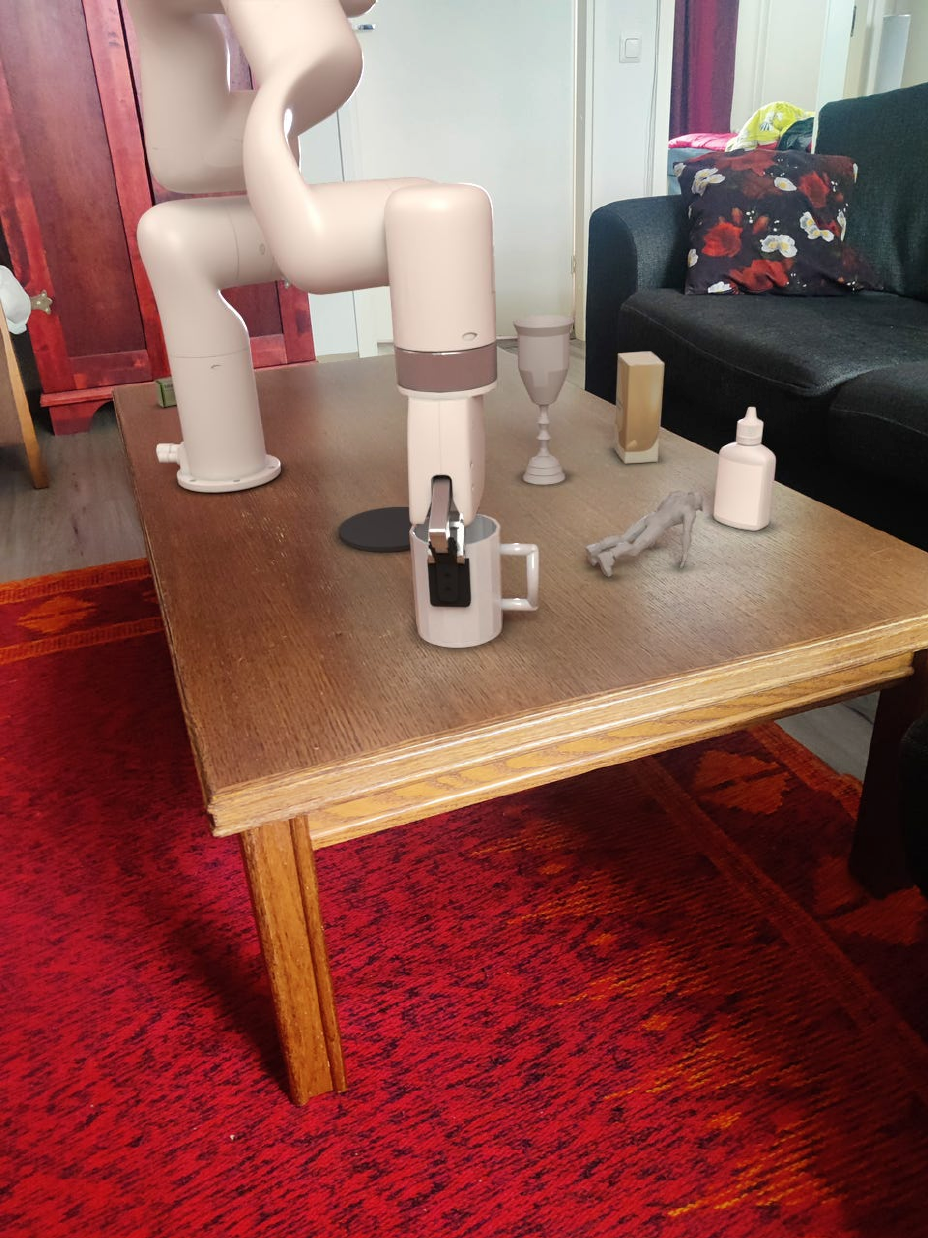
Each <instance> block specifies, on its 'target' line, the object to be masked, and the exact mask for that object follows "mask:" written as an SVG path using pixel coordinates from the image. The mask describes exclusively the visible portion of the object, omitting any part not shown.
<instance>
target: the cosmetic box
mask: <svg viewBox="0 0 928 1238" xmlns="http://www.w3.org/2000/svg"><path fill="white" fill-rule="evenodd" d="M616 369H617V372H616V393H615V417H614V420H615V421H614V438H613V439H614V440H613V449H614V451H615V453H616V454H617V455H618V457H619V459H620V460H621V461H622V462H623V464H625V465H626V464H642V463H657V462H659V452H660V438H661V436H660V435H661V422H662V409H663V393H664V378H665V377H664V376H665V362H664V361H662V360H661V358H659V357H658V356H657V354H655V353H654V352H652V351H634V352H622V353H621V352H620V353H617V368H616Z"/></svg>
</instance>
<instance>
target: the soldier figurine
mask: <svg viewBox="0 0 928 1238" xmlns="http://www.w3.org/2000/svg"><path fill="white" fill-rule="evenodd" d="M704 501H705V499H704V496H703V494H702V493H701V492H700V491H698V490H690V491H689V492H688V493H687V492H685V491H683V490H675V491H671V492H670V493H669V494H668V496H666V497H665V498H664V499H663V500H662V501H661V502H660V504H658V507H657V510H655V511H654V512H651V513H649V514H647V515H644V516H643V517H642V518H640V519H639V520H637V521H636V522H635V523H634V524H632V525H631V526H630V527H629V528H628V529H627V530H626V531H625V532H624V533H623V534H622V535H618V534H612V535H608V536H606V537H605V538H604V539H603V540H599V541H597V542H596V543H592V544H589V545H587V546H585V547H584V548H585V552H586V559H587V560H588V562H589V563H590V565H592V566H593V567H595V566H597V564H598V563H599V565H600V571H602V573H603V574H604V576H606V577H608V578H610V577H611V576H612V575H613V569H612V568H613V565H614V563H615V560H617V559H619V558H620V557H625V556H627V557H637V556H638V554H639V553H640V552H641V551H642V550H644V549H648V548H653V546H654V545H656V544H657V541H658V539H659V538H661V536H663V535H665V532H666V531H667V530H668V529H670V528H672V527H675V526H679V525H682V533H681V535H680V544H681V551H682V554H681V557H680V558H679V560H678V561H679V562H681V563H680V565H679V569H682V568H683V566H685V563H686V562H687V561H688V560H687V559H688V552H689V550H690V548H691V544H692V532H693V525H694V523H695V520H696V518H697V513H696V512H697V511H700V512H701V513H702V512H704ZM607 550H608V551H607Z"/></svg>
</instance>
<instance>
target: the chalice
mask: <svg viewBox="0 0 928 1238" xmlns="http://www.w3.org/2000/svg"><path fill="white" fill-rule="evenodd" d="M574 323H575V319H574V318H572V317H569V316H565V315H554V314H553V315H552V314H551V315H550V314H547V315H546V314H545V315H543V314H541V315H531V316H524V317H520V318H516V319H515V320H513V321H512V325H513V327H514V329H515V331H516V334H517V369H518V372H519V374H520V379H521V381H522V384H523V386H524V388H525V391H526V392H527V394H528V397H529V399H530V401H531V403H533V404H534V405H537V406H538V407H539V416H538V420H537V421H536V423H537V425H538V427H539V432H538V433H539V434H538V435H537V436H536V440H538V443H539V447H540V448H539V452H538V453H537V455H535V456H533V457H531V459H530V460H529V461H528V465H527V467H526V468H525V472H524V474H523V476H522V480H523V481H524V482H526V483H529V484H534V485H553V484H558V483H560V482H563V481H564V480H565V479H566V475H565V473H564V472H563V467H562V466H561V464H560V461H559V459H558V458H557V457H556V456H554V455H551V452H549V447H548V446H549V441H550V440H551V439H552V436H551V434H550V433H549V430H548V429H549V426H550V424H551V422H552V421H551V420H550V417H549V413H548V410H549V406H550V405H552V404H554V403H555V402H556V401H557V399H558V397H559V395H560V393H561V390H562V388H563V386H564V384H565V381H566V379H567V375H568V372H569V370H570V369H569V368H570V361H571V360H570V359H571V358H570V357H571V356H570V351H571V349H570V348H571V347H570V345H571V344H570V343H571V330H572V328H573V325H574Z"/></svg>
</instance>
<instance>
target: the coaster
mask: <svg viewBox="0 0 928 1238" xmlns="http://www.w3.org/2000/svg"><path fill="white" fill-rule="evenodd" d="M427 517H429V513H428V516H427ZM411 527H412V523H411V522H410V516H409V506H387V507H379V508H373V509H369V510H366V511H362V512H360V513H357V514H354V515H352V516H350V517H348V518H347V519H345V520H344V521H343V522H342V523H341V524H340V526H339V527H338V535H339V539H340V541H341V542H342V544H345V545H346V546H348V547H350V548H353V549H355V550H360V551H364V552H372V553H394V552H404V551H411V547H410V534H409V531H410V529H411Z"/></svg>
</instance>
